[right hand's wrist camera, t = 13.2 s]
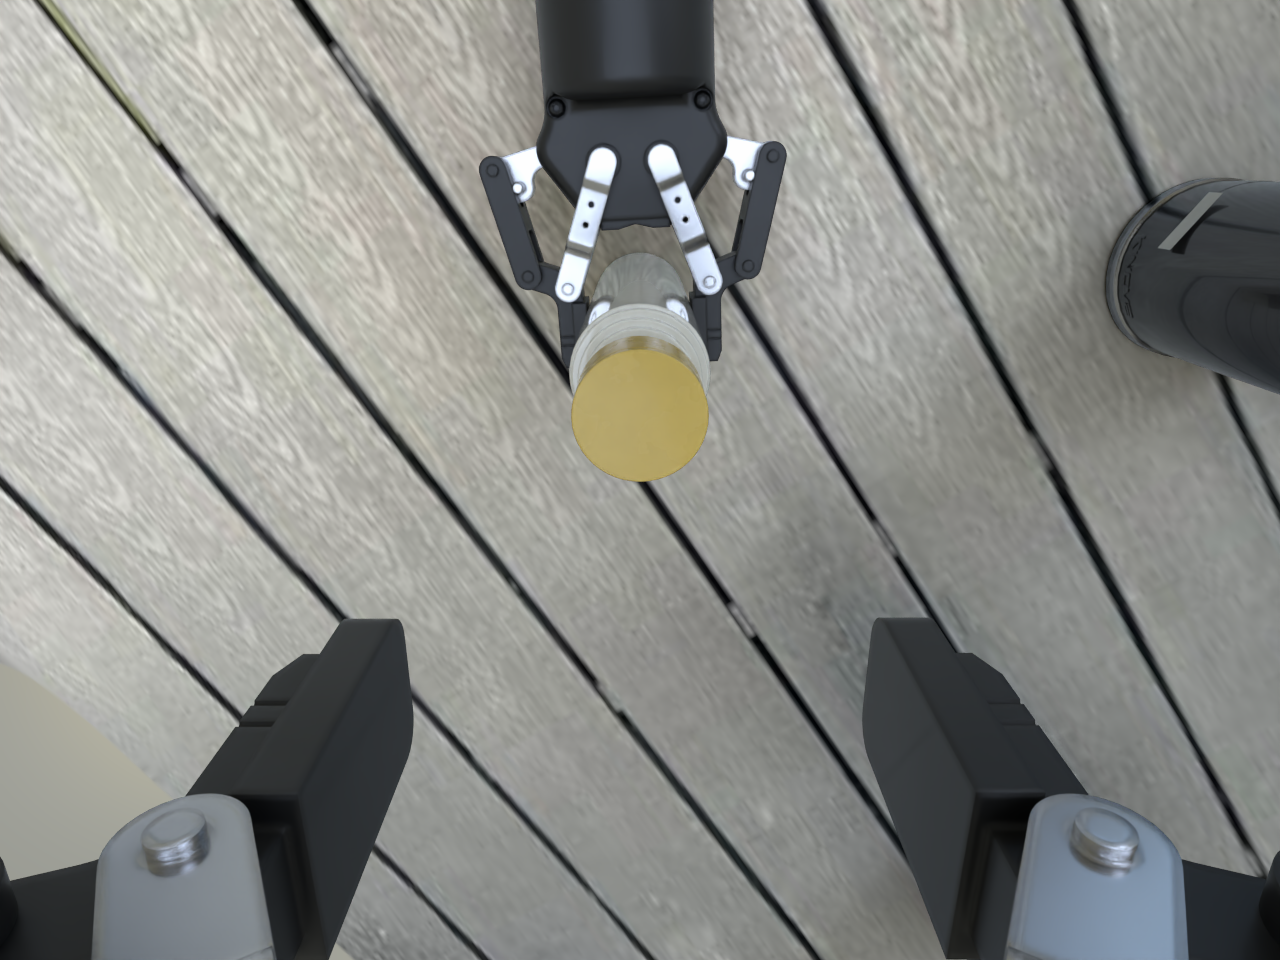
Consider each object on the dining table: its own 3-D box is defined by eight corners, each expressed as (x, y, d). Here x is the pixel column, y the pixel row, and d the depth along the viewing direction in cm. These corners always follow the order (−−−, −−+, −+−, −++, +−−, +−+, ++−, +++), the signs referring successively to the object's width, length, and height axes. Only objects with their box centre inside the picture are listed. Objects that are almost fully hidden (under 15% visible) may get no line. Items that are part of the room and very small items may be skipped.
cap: (630, 481, 27) (629, 507, 25) (550, 388, 26) (542, 407, 24) (728, 408, 26) (736, 428, 24) (650, 308, 25) (651, 320, 23)
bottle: (633, 359, 47) (627, 522, 26) (577, 290, 46) (521, 401, 24) (702, 305, 46) (757, 426, 25) (647, 233, 45) (653, 293, 23)
